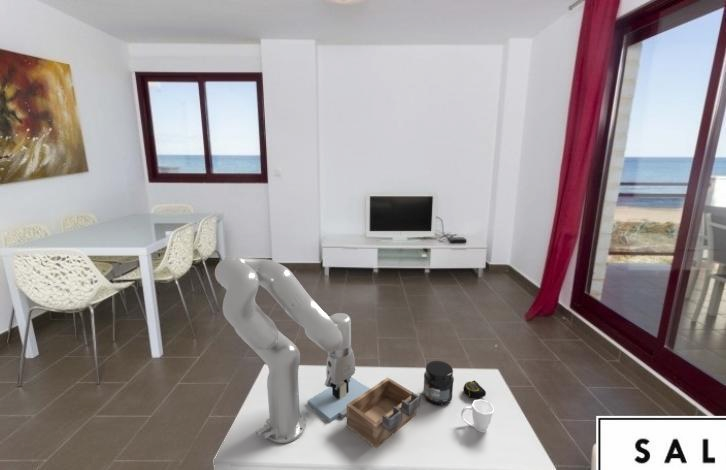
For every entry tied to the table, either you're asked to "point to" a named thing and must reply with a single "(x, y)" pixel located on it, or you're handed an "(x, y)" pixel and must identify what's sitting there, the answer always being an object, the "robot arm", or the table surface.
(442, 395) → the supplement container
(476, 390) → the tape measure
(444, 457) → the table surface
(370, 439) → the cabinet
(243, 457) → the table surface
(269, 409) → the robot arm
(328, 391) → the door
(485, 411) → the cup
